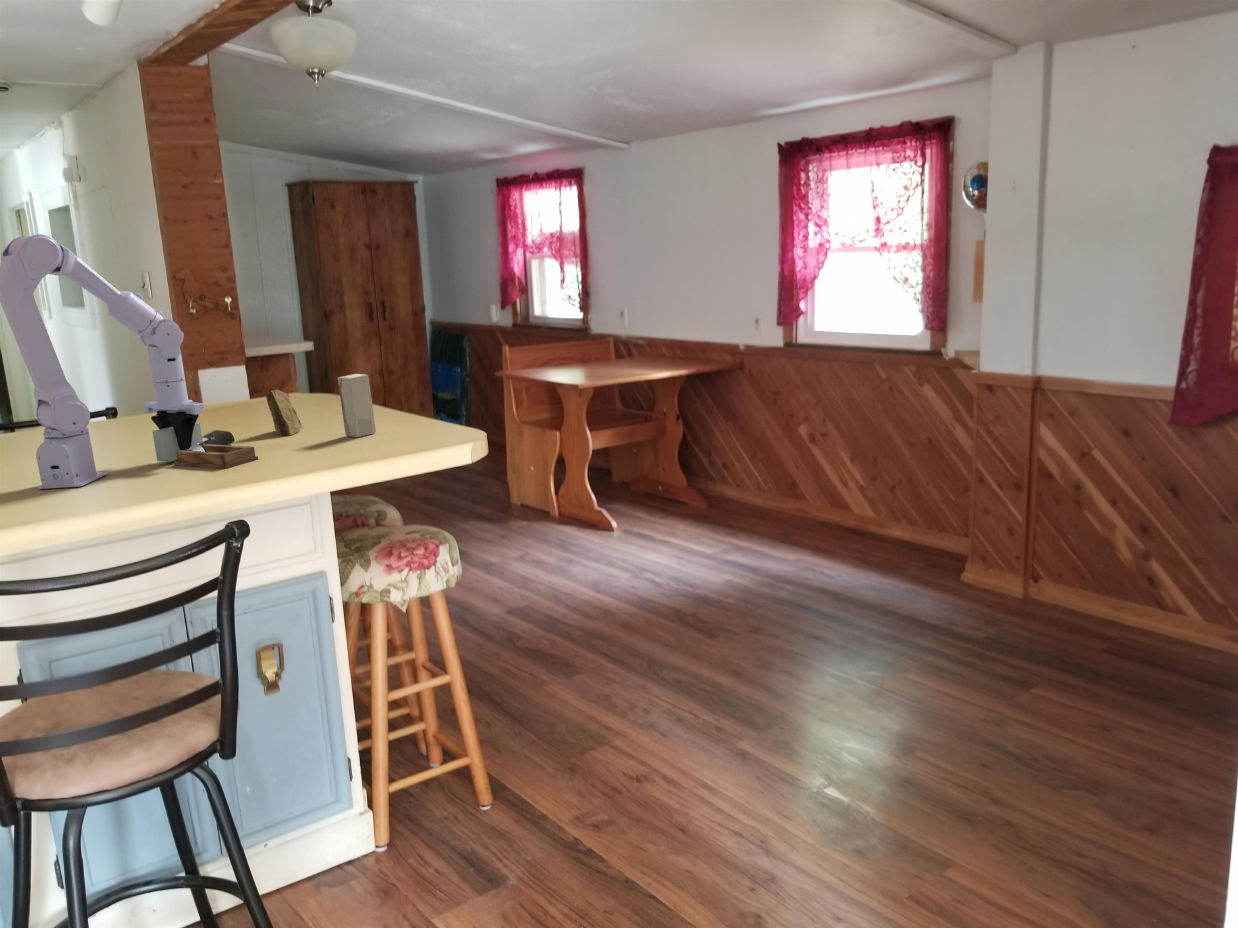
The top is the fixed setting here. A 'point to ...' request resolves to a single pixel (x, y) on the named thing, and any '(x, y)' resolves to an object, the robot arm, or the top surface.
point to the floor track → (216, 456)
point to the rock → (283, 413)
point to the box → (356, 405)
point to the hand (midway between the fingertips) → (180, 449)
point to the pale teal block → (172, 442)
